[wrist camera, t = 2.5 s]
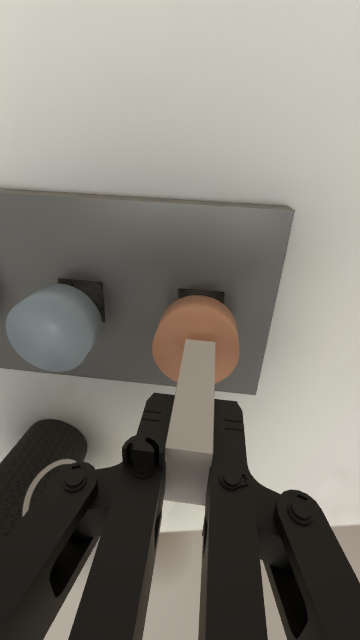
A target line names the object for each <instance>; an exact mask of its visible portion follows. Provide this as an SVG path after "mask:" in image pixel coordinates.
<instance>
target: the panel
mask: <svg viewBox="0 0 360 640" xmlns="http://www.w3.org/2000/svg"><path fill="white" fill-rule="evenodd" d="M294 212H295V210H293V209H291V208H290V207H288V206H277V205H260V204H244V203H227V202H210V201H194V200H177V199H160V198H144V197H127V196H110V195H94V194H77V193H60V192H44V191H27V190H10V189H0V368H5V369H15V370H24V371H34V372H43V373H52V374H62V375H71V376H81V377H90V378H100V379H109V380H119V381H128V382H138V383H147V384H156V385H166V386H175V387H177V382H175V381H173V380H172V379H170V378H169V377H167V376H166V375H165V374H164V373H163V372H162V371H161V370H160V369H159V367H158V366H157V364H156V362H155V360H154V357H153V353H152V344H153V340H154V337H155V334H156V331H157V328H158V325H159V322H160V320H161V317H162V315H163V313H164V311H165V310H166V309H167V307H168V306H169V305H170V304H172V303H173V302H175V301H176V300H178V299H180V291H181V288H184V289H196V290H208V291H220V292H223V299H222V303H223V304H224V305H225V306H226V307H227V308H228V309H229V310H230V311H231V313H232V314H233V316H234V318H235V321H236V325H237V333H238V341H239V351H240V353H239V359H238V363H237V365H236V367H235V368H234V370H233V371H232V372H231V374H230V375H229V376H227V377H226V378H225V379H223V380H222V381H220V382H218V383H215V386H214V391H223V392H232V393H242V394H251V395H256V391H257V386H258V382H259V377H260V372H261V367H262V363H263V358H264V353H265V349H266V344H267V339H268V334H269V330H270V325H271V320H272V316H273V311H274V306H275V301H276V297H277V292H278V287H279V283H280V278H281V273H282V268H283V264H284V259H285V254H286V250H287V245H288V240H289V235H290V231H291V226H292V221H293V217H294ZM71 279H73V280H86V281H98V282H102V285H103V297H104V309H105V310H101V309H98V311H99V313H100V316H101V320H102V329H101V333H100V336H99V338H98V339H97V341H96V342H95V344H94V345H93V347H92V348H91V350H90V351H89V353H88V354H87V356H86V357H85V359H84V360H83V361H82V363H81V364H80V365H78V366H77V367H76V368H74V369H72V370H68V371H64V372H52V371H46V370H43V369H40V368H38V367H35V366H33V365H32V364H30V363H28V362H27V361H26V360H24V359H23V358H22V357H21V356H20V355H19V354H18V353H17V352H16V351H15V350H14V348H13V347H12V345H11V343H10V341H9V339H8V336H7V333H6V319H7V316H8V314H9V312H10V311H11V309H12V308H13V307H14V306H16V305H17V304H18V303H20V302H21V301H23V300H24V299H25V298H27V297H28V296H29V295H31V294H32V293H34V292H35V291H36V290H38V289H39V288H41V287H43V286H45V285H49V284H66V285H69V286H72V281H71Z"/></svg>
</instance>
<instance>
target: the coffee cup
mask: <svg viewBox="0 0 360 640" xmlns="http://www.w3.org/2000/svg"><path fill="white" fill-rule="evenodd" d="M86 452H87V442H86V440H85V438H84V437H83V435H82V434H81V433H80V432H79V431H78V430H77V429H75V428H74V427H72V426H71V425H69V424H67V423H64V422H61V421H57V420H42V421H38V422H36V423H35V424H33V425H32V426H31V427H30V429H29V430H28V431H27V432H26V433H25V434H24V436H23V437H22V438H21V439H20V440H19V442H18V443H17V444H16V445H15V446H14V448H13V449H12V450H11V451H10V452H9V454H8V455H7V456H6V457H5V458H4V460H3V461H2V462H1V463H0V545H1V543H2V542H3V541H4V540H5V538H6V537H7V536H8V535H9V534H10V532H11V531H12V530H13V529H14V527H15V526H16V525H17V524H18V522H19V521H20V520H21V519H22V517H23V516H24V515H25V514H26V512H27V511H28V510H29V509H30V507H31V506H32V505H33V504H34V502H35V501H36V500H37V499H38V497H39V496H40V495H41V494H42V492H43V491H44V490H45V489H46V487H47V486H48V485H49V484H50V482H51V481H52V480H53V479H54V477H55V476H56V475H57V474H58V473H59V472H60V471H61V470H62V469H63V468H64V467H66V466H68V465H70V464H72V463H76V462H83V461H84V458H85V455H86Z"/></svg>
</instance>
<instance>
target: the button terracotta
mask: <svg viewBox="0 0 360 640" xmlns="http://www.w3.org/2000/svg"><path fill="white" fill-rule="evenodd" d="M186 339H190V340H200V341H210V342H216V344H215V383H218V382H220V381H222V380H223V379H225V378H226V377H227V376H229V375H230V374H231V372H232V371H233V370H234V368H235V367H236V365H237V363H238V359H239V353H240V351H239V341H238V333H237V325H236V321H235V318H234V316H233V314H232V313H231V311H230V310H229V309H228V308H227V307H226V306H225V305H224V304H223V303H221V302H220V301H218V300H216V299H214V298H211V297H208V296H202V295H192V296H186V297H183V298H180V299H178V300H176V301H175V302H173V303H172V304H170V305H169V306H168V307H167V309H166V310H165V311H164V313H163V315H162V317H161V320H160V322H159V325H158V328H157V331H156V334H155V337H154V340H153V344H152V353H153V357H154V360H155V362H156V364H157V366H158V367H159V369H160V370H161V371H162V372H163V373H164V374H165V375H166V376H167V377H169V378H170V379H172V380H173V381H175V382H177V383H178V378H179V373H180V367H181V362H182V357H183V352H184V346H185V341H186Z"/></svg>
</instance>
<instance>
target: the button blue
mask: <svg viewBox="0 0 360 640" xmlns="http://www.w3.org/2000/svg"><path fill="white" fill-rule="evenodd" d="M101 329H102V320H101V316H100V313H99V311H98V308H97V307H96V305H95V304H94V302H93V301H92V300H91V299H90V298H89V297H88V296H87V295H86V294H85V293H83V292H82V291H80V290H79V289H77V288H75V287H72V286H69V285H66V284H49V285H45V286H43V287H41V288H39V289H38V290H36V291H35V292H34V293H32V294H31V295H29V296H28V297H27V298H25V299H24V300H23V301H21V302H20V303H18V304H17V305H16V306H14V307H13V308H12V309H11V311H10V312H9V314H8V316H7V319H6V333H7V336H8V339H9V341H10V343H11V345H12V347H13V348H14V350H15V351H16V352H17V353H18V354H19V355H20V356H21V357H22V358H23V359H24V360H26V361H27V362H28V363H30V364H32V365H33V366H35V367H38V368H40V369H43V370H46V371H52V372H64V371H68V370H72V369H74V368H76V367H77V366H78V365H80V364H81V363H82V361H83V360H84V359H85V357H86V356H87V354H88V353H89V351H90V350H91V348H92V347H93V345H94V344H95V342H96V341H97V339H98V338H99V336H100V333H101Z"/></svg>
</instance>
